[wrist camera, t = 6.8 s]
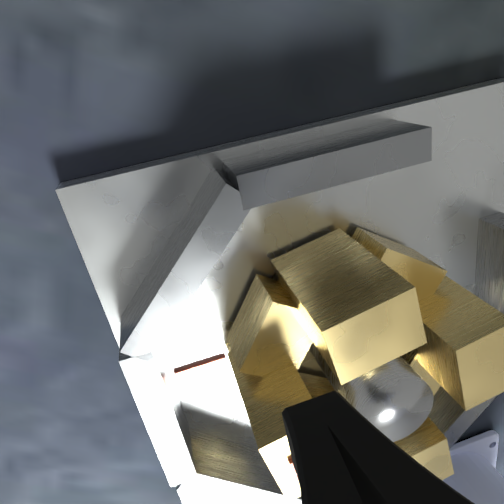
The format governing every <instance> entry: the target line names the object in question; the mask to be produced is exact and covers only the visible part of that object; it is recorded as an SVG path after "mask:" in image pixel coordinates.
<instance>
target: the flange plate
mask: <svg viewBox="0 0 504 504" xmlns="http://www.w3.org/2000/svg"><path fill="white" fill-rule="evenodd" d="M56 193H57V195H58V198H59V200H60V202H61V205H62V207H63V210H64V212H65V215H66V217H67V220H68V222H69V225H70V227H71V230H72V232H73V235H74V237H75V239H76V242H77V244H78V247H79V249H80V252H81V254H82V257H83V259H84V262H85V264H86V267H87V269H88V272H89V274H90V276H91V279H92V281H93V284H94V286H95V289H96V291H97V294H98V296H99V299H100V301H101V304H102V306H103V309H104V311H105V313H106V316H107V318H108V321H109V323H110V326H111V328H112V331H113V333H114V336H115V338H116V341H117V343H118V346H119V363H120V366H121V368H122V371H123V373H124V375H125V378H126V380H127V383H128V385H129V387H130V390H131V392H132V395H133V397H134V400H135V402H136V404H137V407H138V409H139V412H140V414H141V416H142V419H143V421H144V424H145V426H146V429H147V431H148V433H149V436H150V438H151V441H152V443H153V445H154V448H155V450H156V453H157V455H158V458H159V460H160V462H161V465H162V467H163V470H164V472H165V474H166V477H167V479H168V482H169V484H170V487H173V486H176V491H177V492H178V494H179V496H180V499H181V501H182V503H183V504H229V503H230V504H302V499H301V496H300V497H298V498H296V499H294V500H292V501H290V502H287V500H286V498H285V496H284V495H283V493H282V491H281V489H280V487H279V485H278V484H277V482H276V480H275V478H274V476H273V475H272V473H271V471H270V469H269V467H268V466H267V464H266V462H265V460H264V458H263V456H262V455H261V453H260V451H259V449H258V446H257V443H256V440H255V437H254V434H253V431H252V428H251V425H250V422H249V419H248V416H247V412H246V409H245V406H244V403H243V400H242V397H241V394H240V391H239V388H238V385H237V382H236V379H235V376H234V373H233V370H232V367H231V364H230V361H229V358H228V355H227V352H230V351H232V350H231V348H230V345H229V342H228V339H227V336H228V334H229V332H230V329H231V327H232V325H233V323H234V321H235V319H236V317H237V314H238V312H239V310H240V308H241V306H242V304H243V302H244V299H245V297H246V295H247V293H248V291H249V289H250V287H251V284H252V282H253V280H254V278H255V276H256V274H258V275H261V276H265V277H268V278H271V279H274V280H278V278H277V275H276V273H275V270H274V268H273V265H272V263H271V260H272V259H274V258H276V257H278V256H281V255H283V254H285V253H287V252H289V251H291V250H294V249H296V248H298V247H300V246H302V245H304V244H306V243H309V242H311V241H313V240H315V239H317V238H319V237H322V236H324V235H326V234H328V233H330V232H332V231H334V230H337V229H339V228H340V229H341V230H342V231H344V232H345V233H346V234H347V235H349V236H350V237H351V238H352V236H353V234H354V232H355V230H356V228H357V227H358V228H361V229H363V230H366V231H369V232H371V233H374V234H376V235H379V236H381V237H384V238H387V239H389V240H392V241H394V242H397V243H399V244H402V245H404V246H407V247H410V248H412V249H414V250H415V251H417V252H419V253H420V254H422V255H423V256H425V257H426V258H428V259H429V260H431V261H433V262H434V263H436V264H437V265H439V266H440V267H442V268H443V269H445V270H447V271H448V272H447V273H446V275H445V276H447V277H449V278H450V279H452V280H453V281H455V282H456V283H458V284H459V285H461V286H462V287H464V288H465V289H467V290H468V291H470V292H471V293H473V294H474V295H476V296H477V297H479V298H480V299H482V300H483V301H485V302H486V303H488V304H489V305H491V306H492V307H494V308H495V309H497V310H498V311H500V312H501V313H503V314H504V78H498V79H494V80H490V81H486V82H482V83H477V84H473V85H469V86H465V87H461V88H456V89H452V90H448V91H444V92H440V93H435V94H431V95H427V96H423V97H419V98H414V99H410V100H406V101H402V102H398V103H393V104H389V105H385V106H381V107H377V108H372V109H368V110H364V111H360V112H356V113H351V114H347V115H343V116H339V117H335V118H330V119H326V120H322V121H318V122H314V123H309V124H305V125H301V126H297V127H293V128H288V129H284V130H280V131H276V132H272V133H267V134H263V135H259V136H255V137H251V138H246V139H242V140H238V141H234V142H230V143H225V144H221V145H217V146H213V147H209V148H204V149H200V150H196V151H192V152H187V153H183V154H179V155H175V156H171V157H166V158H162V159H158V160H154V161H150V162H145V163H141V164H137V165H133V166H129V167H124V168H120V169H116V170H112V171H108V172H103V173H99V174H95V175H91V176H87V177H82V178H78V179H74V180H70V181H66V182H61V183H59V185H58V187H57V188H56ZM278 281H279V280H278ZM297 371H298V372H300V373H305V374H309V375H314V376H319V377H324V378H327V379H328V380H329V382H330V383H331V385H332V387H333V388H334V390H335V391H336V392H338V393H340V394H341V395H342V396H343V397H344V398H345V399H346V400H347V401H348V402H349V403H350V404H351V405H352V406H353V407H354V408H355V409H356V410H357V411H358V412H359V413H360V414H362V415H363V416H364V417H365V418H366V419H367V420H368V421H369V422H370V423H372V424H373V425H374V426H375V427H376V428H377V429H378V430H380V431H381V432H382V433H383V434H384V435H385V436H387V437H388V438H389V439H390V440H391V441H392V442H395V441H398V440H400V439H403V438H405V437H407V436H408V435H410V434H411V433H413V432H414V431H415V430H417V429H418V428H419V427H420V426H421V425H422V424H423V422H424V421H425V420H426V419H427V417H429V418H430V419H431V420H432V421H433V423H434V424H435V425H436V426H437V427H438V429H439V430H440V431H441V432H442V433H443V434H444V436H445V437H446V438H447V441H448V446H449V449H450V448H451V447H452V446H453V445H454V444H455V442H456V441H457V440H458V439H459V438H460V437H461V436H462V435H463V433H464V432H465V431H466V430H467V429H468V428H469V427H470V426H471V424H472V423H473V422H474V421H475V420H476V419H477V418H478V417H479V415H480V414H481V413H482V412H483V411H484V410H485V409H486V408H487V407H488V406H489V404H490V403H491V402H492V401H493V400H494V399H495V398H496V396H497V395H496V396H494V397H493V398H491V399H489V400H487V401H485V402H483V403H481V404H479V405H477V406H475V407H473V408H471V409H469V410H467V411H465V410H464V409H463V408H462V407H461V406H460V405H459V404H458V403H457V402H456V401H455V400H454V398H453V397H452V396H451V395H450V394H449V393H448V392H447V391H446V390H445V389H444V388H443V387H442V386H440V387H439V389H438V390H437V392H436V393H435V395H434V396H433V392H432V390H431V388H430V386H429V385H428V384H427V383H426V382H425V381H424V380H423V379H422V378H421V377H420V376H419V374H418V373H417V372H416V371H415V370H414V369H413V368H412V367H411V366H410V365H409V364H408V363H407V362H406V361H405V359H404V358H403V357H402V356H400V357H398V358H396V359H394V360H392V361H390V362H387V363H385V364H383V365H381V366H379V367H377V368H375V369H373V370H371V371H369V372H367V373H365V374H363V375H361V376H359V377H357V378H355V379H353V380H351V381H349V382H347V383H345V384H343V385H341V384H340V383H339V381H338V380H337V378H336V377H335V375H334V374H333V372H332V371H331V369H330V367H329V366H328V364H327V363H326V361H325V360H324V358H323V357H322V355H321V354H320V352H319V351H318V349H317V348H316V346H315V345H314V343H313V342H312V344H311V346H310V348H309V350H308V352H307V354H306V355H305V357H304V359H303V361H302V363H301V365H300V367H299V369H298V370H297Z"/></svg>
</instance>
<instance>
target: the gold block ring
mask: <svg viewBox="0 0 504 504" xmlns="http://www.w3.org/2000/svg"><path fill="white" fill-rule="evenodd" d="M271 263H272V265H273V268H274V270H275V273H276V275H277V278H278V280H279V281H278V280H274V279H271V278H268V277H265V276H261V275H258V274H256V276H255V278H254V280H253V282H252V284H251V287H250V289H249V291H248V293H247V295H246V297H245V299H244V302H243V304H242V306H241V308H240V310H239V312H238V314H237V317H236V319H235V321H234V323H233V325H232V327H231V329H230V332H229V334H228V336H227V339H228V342H229V345H230V348H231V350H232V351H230V352H227V355H228V358H229V361H230V364H231V367H232V370H233V373H234V376H235V379H236V382H237V385H238V388H239V391H240V394H241V397H242V400H243V403H244V406H245V409H246V412H247V416H248V419H249V422H250V425H251V428H252V431H253V434H254V437H255V440H256V443H257V446H258V449H259V451H260V453H261V455H262V456H263V458H264V460H265V462H266V464H267V466H268V467H269V469H270V471H271V473H272V475H273V476H274V478H275V480H276V482H277V484H278V485H279V487H280V489H281V491H282V493H283V495H284V496H285V498H286V500H287V502H290V501H292V500H294V499H296V498H298V497H300V496H301V492H300V485H299V481H298V478H297V475H296V472H295V469H294V466H293V462H292V458H291V453H290V449H289V444H288V440H287V435H286V431H285V426H284V422H283V417H282V412H283V411H284V409H285V408H287V407H289V406H292V405H295V404H298V403H301V402H304V401H306V400H309V399H312V398H315V397H318V396H320V395H323V394H326V393H329V392H332V391H335V390H334V388H333V387H332V385H331V383H330V382H329V380H328V379H327V378H324V377H319V376H314V375H309V374H305V373H300V372H298V371H297V370H298V369H299V367H300V365H301V363H302V361H303V359H304V357H305V355H306V354H307V352H308V350H309V348H310V346H311V344H312V342H313V343H314V345H315V346H316V348H317V349H318V351H319V352H320V354H321V355H322V357H323V358H324V360H325V361H326V363H327V364H328V366H329V367H330V369H331V371H332V372H333V374H334V375H335V377H336V378H337V380H338V381H339V383H340V384H341V385H343V384H345V383H347V382H349V381H351V380H353V379H355V378H357V377H359V376H361V375H363V374H365V373H367V372H369V371H371V370H373V369H375V368H377V367H379V366H381V365H383V364H385V363H387V362H390V361H392V360H394V359H396V358H398V357H400V356H402V357H403V358H404V359H405V361H406V362H407V363H408V364H409V365H410V366H411V367H412V368H413V369H414V370H415V371H416V372H417V373H418V374H419V376H420V377H421V378H422V379H423V380H424V381H425V382H426V383H427V384H428V385H429V386H430V388H431V390H432V392H433V396H434V395H435V393H436V392H437V390H438V389H439V387H440V386H442V387H443V388H444V389H445V390H446V391H447V392H448V393H449V394H450V395H451V396H452V397H453V398H454V400H455V401H456V402H457V403H458V404H459V405H460V406H461V407H462V408H463V409H464V410H465V411H467V410H469V409H471V408H473V407H475V406H477V405H479V404H481V403H483V402H485V401H487V400H489V399H491V398H493V397H494V396H496V395H498V394H500V393H502V392H504V314H503V313H501V312H500V311H498V310H497V309H495V308H494V307H492V306H491V305H489V304H488V303H486V302H485V301H483V300H482V299H480V298H479V297H477V296H476V295H474V294H473V293H471V292H470V291H468V290H467V289H465V288H464V287H462V286H461V285H459V284H458V283H456V282H455V281H453V280H452V279H450V278H449V277H447V276H445V275H446V273H447V272H448V271H447V270H445V269H443V268H442V267H440V266H439V265H437V264H436V263H434V262H433V261H431V260H429V259H428V258H426V257H425V256H423V255H422V254H420V253H419V252H417V251H415V250H414V249H412V248H410V247H407V246H404V245H402V244H399V243H397V242H394V241H392V240H389V239H387V238H384V237H381V236H379V235H376V234H374V233H371V232H369V231H366V230H363V229H361V228H358V227H357V228H356V230H355V232H354V234H353V236H352V238H351V237H350V236H349V235H347V234H346V233H345V232H344V231H342V230H341V229H340V228H339V229H337V230H334V231H332V232H330V233H328V234H326V235H324V236H322V237H319V238H317V239H315V240H313V241H311V242H309V243H306V244H304V245H302V246H300V247H298V248H296V249H294V250H291V251H289V252H287V253H285V254H283V255H281V256H278V257H276V258H274V259H272V260H271ZM394 443H395V444H396V445H397V446H399V447H400V448H401V449H402V450H404V451H405V452H406V453H407V454H409V455H410V456H411V457H412V458H413V459H415V460H416V461H417V462H418V463H420V464H421V465H422V466H424V467H425V468H426V469H428V470H429V471H430V472H431V473H433V474H434V475H435V476H437V477H438V478H439V479H441V480H444V479H445V478H447V477H449V476H451V475H453V474H454V470H453V465H452V460H451V456H450V451H449V446H448V441H447V438H446V437H445V436H444V434H443V433H442V432H441V431H440V430H439V429H438V427H437V426H436V425H435V424H434V423H433V421H432V420H431V419H430V418H429V417H427V419H426V420H425V421H424V422H423V424H422V425H421V426H420V427H419V428H418V429H417V430H415V431H414V432H413V433H411V434H410V435H408V436H407V437H405V438H403V439H400V440H398V441H395V442H394Z"/></svg>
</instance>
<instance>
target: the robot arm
mask: <svg viewBox="0 0 504 504" xmlns="http://www.w3.org/2000/svg"><path fill="white" fill-rule="evenodd" d="M282 417H283V422H284V426H285V431H286V435H287V440H288V444H289V449H290V453H291V458H292V462H293V466H294V469H295V472H296V475H297V478H298V481H299V485H300V492H301V499H302V504H504V478H503V477H502V475H501V474H500V473H499V472H498V471H497V470H496V460H497V451H498V443H499V435H498V434H497V433H496V432H495V431H494V430H490V431H487V432H484V433H482V434H479V435H477V436H474V437H471V438H469V439H466V440H464V441H461V442H458V443H456V444H454V445H453V446H452V447H451V448H450V449H449V451H450V456H451V460H452V465H453V470H454V474H453V475H451V476H449V477H447V478H445V479H444V480H441V479H439V478H438V477H437V476H435V475H434V474H433V473H431V472H430V471H429V470H428V469H426V468H425V467H424V466H422V465H421V464H420V463H418V462H417V461H416V460H415V459H413V458H412V457H411V456H410V455H409V454H407V453H406V452H405V451H404V450H402V449H401V448H400V447H399V446H397V445H396V444H395V443H394V442H392V441H391V440H390V439H389V438H388V437H387V436H385V435H384V434H383V433H382V432H381V431H380V430H378V429H377V428H376V427H375V426H374V425H373V424H372V423H370V422H369V421H368V420H367V419H366V418H365V417H364V416H363V415H362V414H360V413H359V412H358V411H357V410H356V409H355V408H354V407H353V406H352V405H351V404H350V403H349V402H348V401H347V400H346V399H345V398H344V397H343V396H342V395H341V394H340V393H338V392H336V391H332V392H329V393H326V394H323V395H320V396H318V397H315V398H312V399H309V400H306V401H304V402H301V403H298V404H295V405H292V406H289V407H287V408H285V409H284V411H283V412H282Z"/></svg>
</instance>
